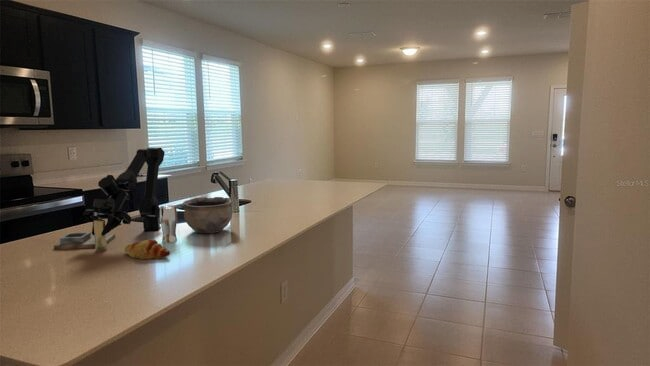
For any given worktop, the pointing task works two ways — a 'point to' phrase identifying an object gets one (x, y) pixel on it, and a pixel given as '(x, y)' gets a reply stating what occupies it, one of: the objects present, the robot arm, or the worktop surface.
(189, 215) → the ceramic bowl
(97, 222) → the pale yellow drinking glass
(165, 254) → the croissant
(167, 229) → the beer glass
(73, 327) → the worktop surface
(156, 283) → the worktop surface
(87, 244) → the plate
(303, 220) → the worktop surface
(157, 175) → the robot arm
